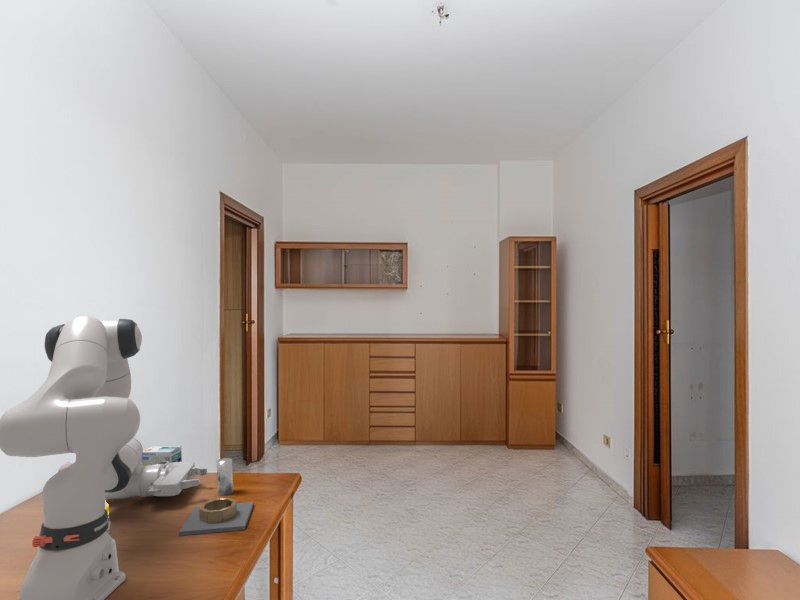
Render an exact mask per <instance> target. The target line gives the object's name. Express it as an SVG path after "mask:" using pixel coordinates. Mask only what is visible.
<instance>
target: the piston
mask: <svg viewBox="0 0 800 600" xmlns="http://www.w3.org/2000/svg"><path fill="white" fill-rule="evenodd" d="M216 474H217V475H216V476H217V496H221V497H222V496H223V497H224V496H225V497H226V496H229V495H231V494H233V493H234V482H233V481H234V479H233V459H232V458H231V457H224V458H220V459H217V460H216Z"/></svg>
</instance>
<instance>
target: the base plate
mask: <svg viewBox="0 0 800 600" xmlns="http://www.w3.org/2000/svg"><path fill="white" fill-rule="evenodd" d="M254 506H255V505H254V501H247V502H237V513H236V515H235V517H234V518H232V519H229V520H227V521H224V522H220V523H209V524H207V523H205V522H203V521H200V518H199V508H200V507H201V505H199V506H198V505H197V506H194V508H193V509H192V511H191V512H190V514H189V516H188V517H187V519H186V520H185V521H184V523H183V525H182V527H181V528H180V530H179V531H178V535H179V537H180V536H188V535H189V536H190V535H200V534H214V533H224V532H226V533H227V532H233V531H234V532H235V531H245V530H246V528H247V524H248V521H249V519H250V517H251V514H252V511H253V508H254Z"/></svg>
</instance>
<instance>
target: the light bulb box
mask: <svg viewBox="0 0 800 600" xmlns="http://www.w3.org/2000/svg"><path fill="white" fill-rule="evenodd" d="M182 452H183V451H182V445H171V446H169V445H168V446H167V445H163V446H161V445H158V446H155V445H154V446H153V445H151V446H150V447H148V448H146V449H144V450H143V455H142V465H143V466H147V465H155V464H158V463H161V462H163V461H169V463H172V462H183V457H182V455H183V454H182Z"/></svg>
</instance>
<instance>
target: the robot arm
mask: <svg viewBox="0 0 800 600" xmlns="http://www.w3.org/2000/svg"><path fill="white" fill-rule="evenodd" d="M142 342H143V336H142V332H141V330H140V328H139V327H138V324H137V322H135V321H134V320H133V319H127V318H119V319H98V318H96V317H93V316H89V315H80V316H75V317H73V318H71V319H69V320H68V321H67V322H66V323H64V324H59V325H57V326H53V327H51V328H50V329H49V330H48V331H47V332H46V334H45V338H44V345H43V346H44V351H45V354H46V356H47V359H48V360H49V361H50V362H51V365H50V368H49V372H48V375H47V377H46V380H45V381H44V383H43V384H42V385H41V386H40V387H39V388H38V389H37V391H35V392H34V393H33V394H31V396H29V397H28V398H27V399H26V400H24V401H22V402H21V403H19V404H17V405H15V406H13V407H11V408H9V409H7V410H6V411H5V412H4V414H2V416H0V451H2V453H4V454H5V455H6V456H8V457H20V458H21V457H22V458H23V457H24V458H39V457H47V456H55V455H62V454H74V455H75V461H74V462H73V463H72V465H70V466H69V467H67V468H65V469H63V470H61V471H60V472H58V471H57V473H55V474H53V475H52V476H51V477H50V478H49V479H48V480H47V481H46V483H45V484H44V486H43V489H42V493H41V494H42V513H43V514H42V515H43V516H42V517H43V522H42V524H41V527H40V531H39V535H35V536H33V539H32V541H31V542H32V543H31V544H32V547H33V548H38V550H37V552H36V555H35V557H34V558H33V559H32V563H31V564H30V566H29V569H28V571H27V573H26V575H25V578H24V580H23V581H22V584H21V587H20V590H19V600H105V599H106V598H108V596H110V595H111V594H112V593H113V592H114V591H115V590H116V589H117V588H118V587H119V586H120V585H121V584H122V583H123V582H124V581H126V578H127V577H126V576H127V575H126V573H125V571H121V570H120V568H119V567H120V566H119V560H118V550H117V544H116V540H115V539H114V538H113V537H112V536H111V535H110V534H109V531H108V528H109V515H108V510H107V509H106V501H105V500H106V499H115V500H116V499H129V498H132V497H142V498H143V497H154V496H155V497H173V496H178V495H180V494H181V492H182V491H183V490H185V489H188V488H189V489H190V488H192V487H198V486H200V484H201V478H199V477H195V478H193V479H192V477H194V476H196V475H197V476H198V475H200V476H206V475H207V473H208V468H207V467H205V468H204V467H203V468H202V467H197V466H196V464H195V463H194V462H192V461H182V462H172V463H169V461H163V462H161V463H158V464H155V465H147V466H143V465H142V455H143V451H144V450H143V445H142V444H141V442H140V441H139V440H138V439H136V438H135V436H136V435H137V433H138V430H139V428H140V424H141V414H140V410H139V408H138V406H137V405H136V404H135V403H134V401H133V400H131V399H130V398H129V397H130V394H131V392H132V376H131V369H130V368H131V367H130V364H129V360H128V359H129V358H132V357H134V356H136V355H137V354H138V353H139V351H140V350H141V347H142V346H141V345H142Z"/></svg>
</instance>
